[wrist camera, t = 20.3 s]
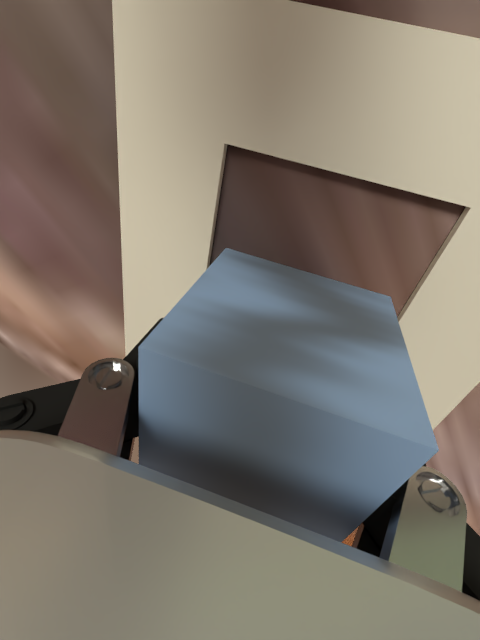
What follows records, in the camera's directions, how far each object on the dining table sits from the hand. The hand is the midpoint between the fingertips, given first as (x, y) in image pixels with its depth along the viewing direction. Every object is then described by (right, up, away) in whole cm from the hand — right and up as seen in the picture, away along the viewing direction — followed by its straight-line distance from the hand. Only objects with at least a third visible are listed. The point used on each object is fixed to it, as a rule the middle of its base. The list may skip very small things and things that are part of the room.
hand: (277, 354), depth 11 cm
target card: (+1, +2, +3) cm, 4 cm away
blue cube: (0, +1, +1) cm, 1 cm away
